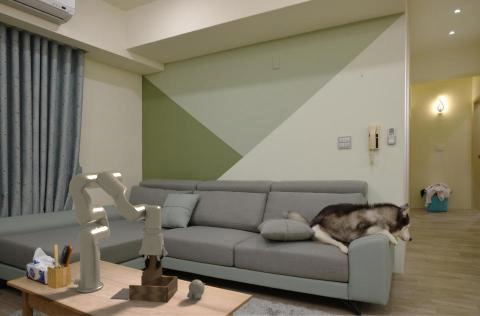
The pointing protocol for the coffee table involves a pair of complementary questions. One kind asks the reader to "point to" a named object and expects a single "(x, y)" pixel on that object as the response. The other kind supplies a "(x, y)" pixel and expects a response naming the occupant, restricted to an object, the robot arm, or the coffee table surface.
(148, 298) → the crate
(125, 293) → the mat
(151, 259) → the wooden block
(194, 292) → the toy rhinoceros
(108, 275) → the coffee table surface
